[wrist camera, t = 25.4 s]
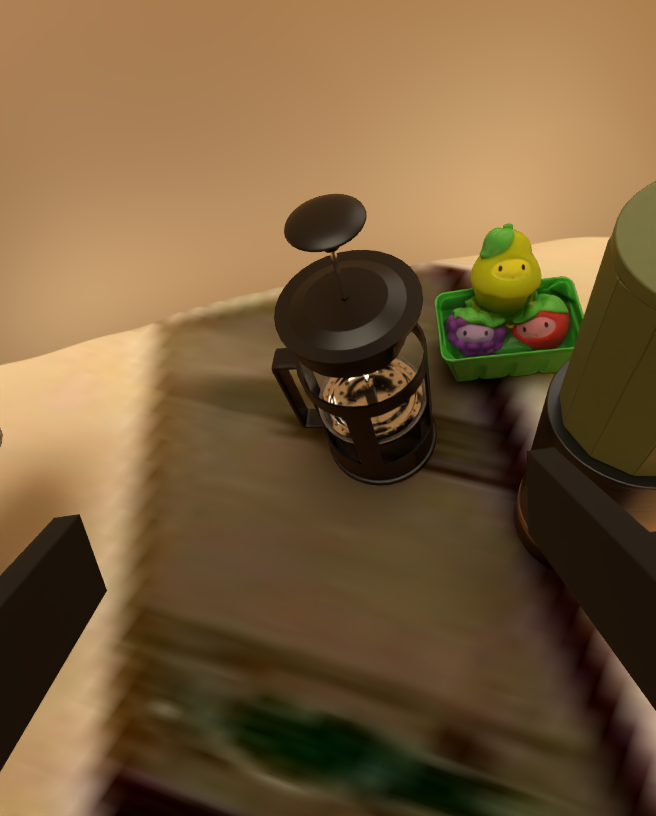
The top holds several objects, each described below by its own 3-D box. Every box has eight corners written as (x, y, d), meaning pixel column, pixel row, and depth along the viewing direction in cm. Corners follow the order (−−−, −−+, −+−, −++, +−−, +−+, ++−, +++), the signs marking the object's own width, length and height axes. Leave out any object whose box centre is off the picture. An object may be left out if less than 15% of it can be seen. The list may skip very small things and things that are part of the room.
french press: (444, 389, 44) (435, 143, 25) (445, 487, 39) (434, 275, 20) (318, 392, 47) (224, 173, 28) (304, 483, 42) (180, 295, 23)
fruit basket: (443, 396, 44) (439, 309, 35) (434, 320, 49) (429, 226, 39) (580, 383, 42) (616, 287, 32) (558, 305, 46) (583, 202, 37)
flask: (517, 573, 35) (572, 447, 18) (509, 469, 39) (549, 288, 23) (645, 582, 33) (837, 449, 16) (623, 471, 37) (759, 275, 21)
